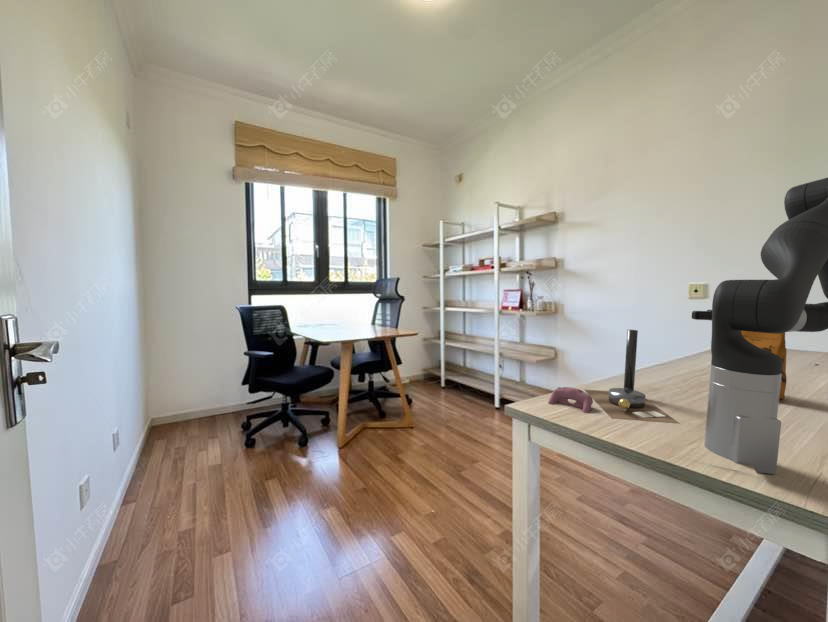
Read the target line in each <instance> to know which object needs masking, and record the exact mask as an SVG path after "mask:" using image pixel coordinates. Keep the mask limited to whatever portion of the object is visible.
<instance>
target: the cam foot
mask: <svg viewBox="0 0 828 622" xmlns="http://www.w3.org/2000/svg"><path fill="white" fill-rule="evenodd" d="M638 331H639V330H637V329H627V330H626V347H625V364H624V376H623V377H624V379H623V387H614V388H609V389H608V391H609V401H610V402H612V403H614V404H616V405H619V406H620V407H621V410H624V411H626V409H628V408H629V407H630V408H642V407H644V406H645V399H646V394H645V393H643V392H641V391H639V390H635V379H636V366H637V365H636V363H637V348H638V347H637V346H638V333H639V332H638Z"/></svg>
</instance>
